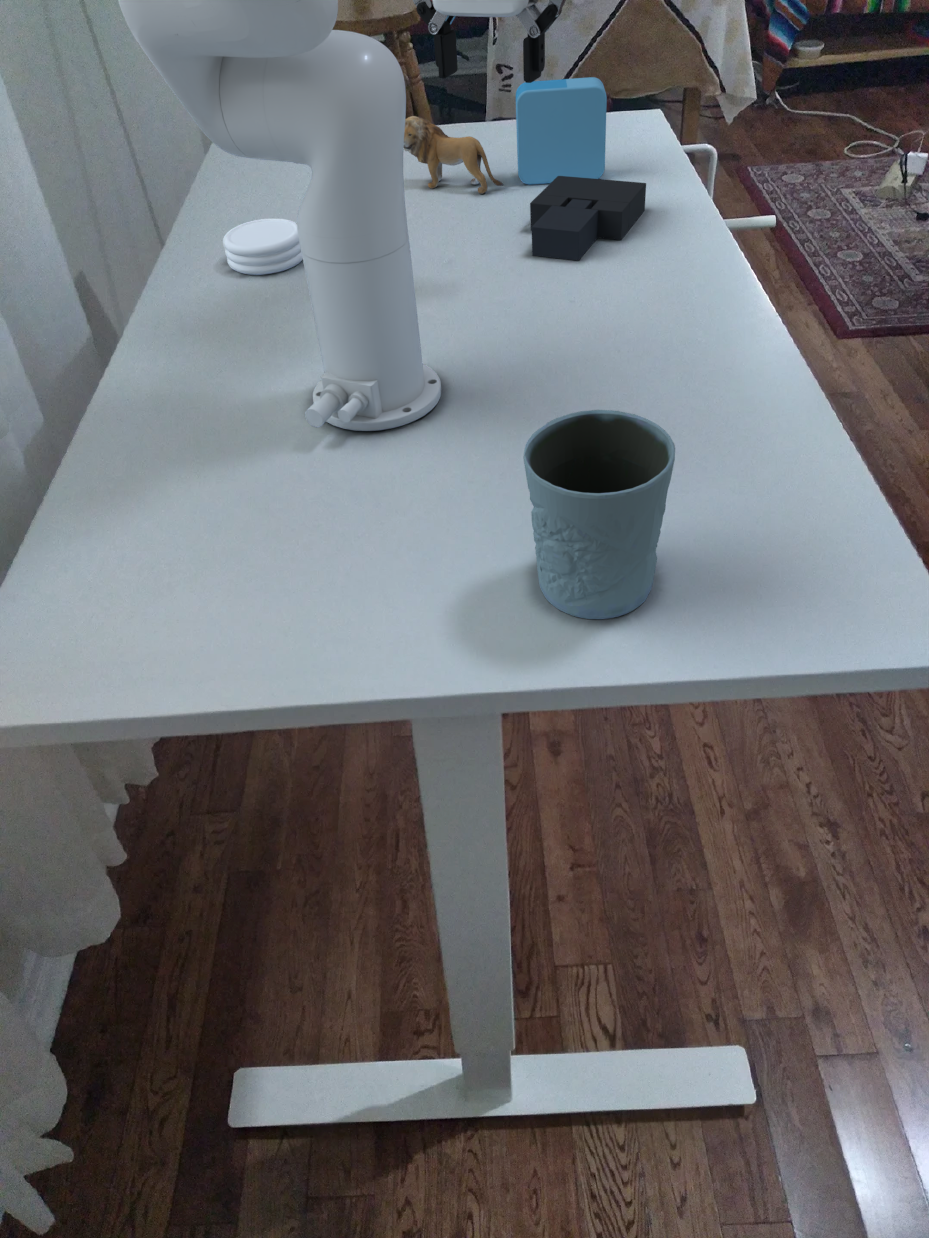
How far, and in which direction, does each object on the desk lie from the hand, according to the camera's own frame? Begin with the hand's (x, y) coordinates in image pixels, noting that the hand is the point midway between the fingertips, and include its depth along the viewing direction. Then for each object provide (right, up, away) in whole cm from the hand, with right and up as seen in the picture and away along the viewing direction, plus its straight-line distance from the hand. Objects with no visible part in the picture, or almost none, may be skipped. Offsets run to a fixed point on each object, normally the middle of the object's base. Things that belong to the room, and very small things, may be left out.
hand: (489, 77), depth 101 cm
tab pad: (+10, -10, +19) cm, 24 cm away
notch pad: (+13, -5, +24) cm, 28 cm away
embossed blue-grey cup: (+7, -54, -28) cm, 61 cm away
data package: (+11, +6, +36) cm, 38 cm away
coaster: (-28, -11, +22) cm, 37 cm away
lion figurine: (-5, +5, +36) cm, 37 cm away
